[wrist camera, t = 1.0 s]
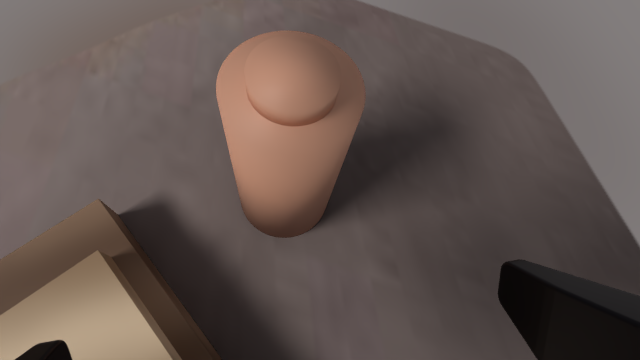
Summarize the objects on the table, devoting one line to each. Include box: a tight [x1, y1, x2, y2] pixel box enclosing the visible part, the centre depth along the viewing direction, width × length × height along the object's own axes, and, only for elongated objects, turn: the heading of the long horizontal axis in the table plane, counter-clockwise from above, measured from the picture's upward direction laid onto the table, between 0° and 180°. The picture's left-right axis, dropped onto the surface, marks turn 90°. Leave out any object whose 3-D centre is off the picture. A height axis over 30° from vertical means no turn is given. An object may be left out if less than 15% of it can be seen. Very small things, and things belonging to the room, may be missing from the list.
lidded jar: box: [216, 31, 366, 238], centre depth 17 cm, size 5×5×11 cm
